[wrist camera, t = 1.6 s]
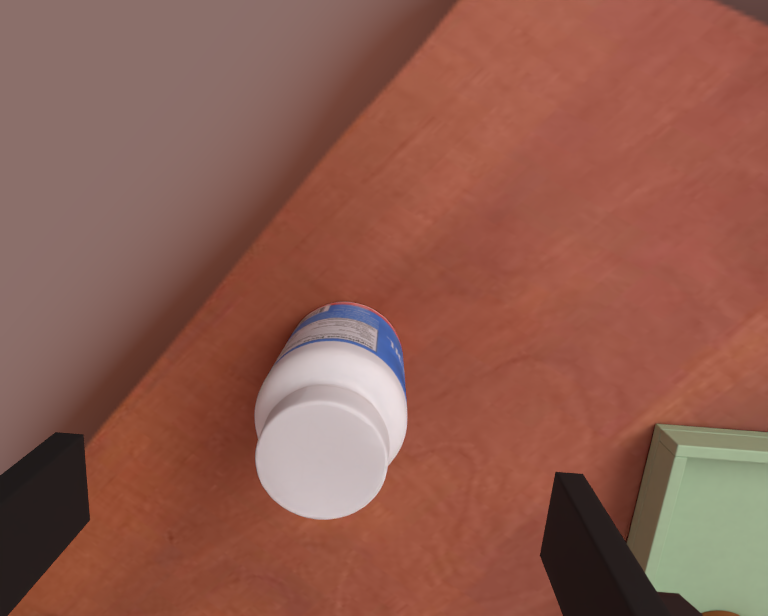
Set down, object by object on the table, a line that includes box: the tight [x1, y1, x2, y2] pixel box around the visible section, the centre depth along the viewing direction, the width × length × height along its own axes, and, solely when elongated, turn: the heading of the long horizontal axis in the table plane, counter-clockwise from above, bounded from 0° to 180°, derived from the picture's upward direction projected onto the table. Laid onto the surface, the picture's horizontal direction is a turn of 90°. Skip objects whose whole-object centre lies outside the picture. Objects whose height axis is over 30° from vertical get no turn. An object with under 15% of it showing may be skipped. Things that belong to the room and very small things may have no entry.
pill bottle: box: [255, 302, 407, 520], centre depth 20 cm, size 6×5×10 cm
